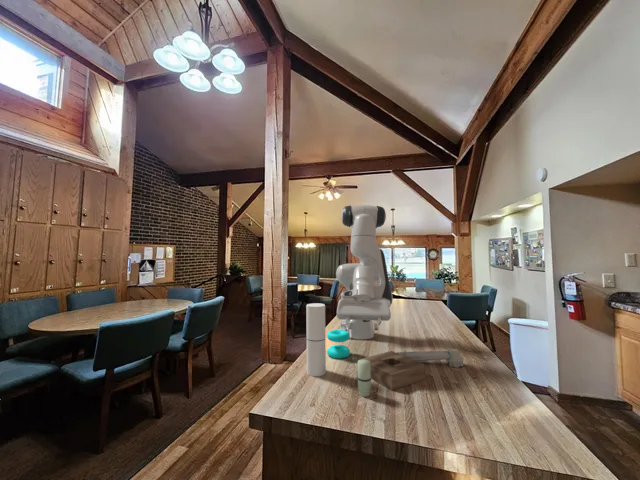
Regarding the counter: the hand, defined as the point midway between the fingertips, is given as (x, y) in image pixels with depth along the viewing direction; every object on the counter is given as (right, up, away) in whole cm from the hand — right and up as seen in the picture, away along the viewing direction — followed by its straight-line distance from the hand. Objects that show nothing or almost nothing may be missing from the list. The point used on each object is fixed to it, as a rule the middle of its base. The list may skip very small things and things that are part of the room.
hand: (363, 329), depth 100 cm
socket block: (+10, -17, 0) cm, 20 cm away
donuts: (-8, -18, +21) cm, 29 cm away
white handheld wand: (+28, -18, +11) cm, 35 cm away
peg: (-2, -17, -13) cm, 21 cm away
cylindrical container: (-17, -18, +4) cm, 25 cm away
